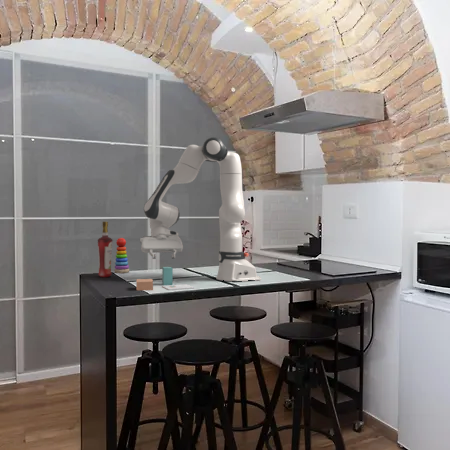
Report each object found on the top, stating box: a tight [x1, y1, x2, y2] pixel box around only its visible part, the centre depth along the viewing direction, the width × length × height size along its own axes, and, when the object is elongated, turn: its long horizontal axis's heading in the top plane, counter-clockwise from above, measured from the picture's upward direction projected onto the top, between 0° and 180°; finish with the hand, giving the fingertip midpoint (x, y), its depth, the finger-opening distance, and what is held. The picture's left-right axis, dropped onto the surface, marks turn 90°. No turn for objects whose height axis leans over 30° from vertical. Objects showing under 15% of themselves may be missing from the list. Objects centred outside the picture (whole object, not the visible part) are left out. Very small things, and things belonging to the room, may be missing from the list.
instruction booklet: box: [161, 283, 195, 291], centre depth 213 cm, size 12×9×1 cm
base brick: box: [135, 278, 154, 291], centre depth 208 cm, size 7×7×4 cm
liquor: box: [97, 221, 114, 278], centre depth 240 cm, size 7×7×28 cm
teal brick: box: [161, 266, 174, 286], centre depth 221 cm, size 4×4×8 cm
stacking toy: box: [114, 237, 130, 274], centre depth 257 cm, size 8×8×19 cm
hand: (163, 258), depth 228 cm, fingers open, 8 cm apart
